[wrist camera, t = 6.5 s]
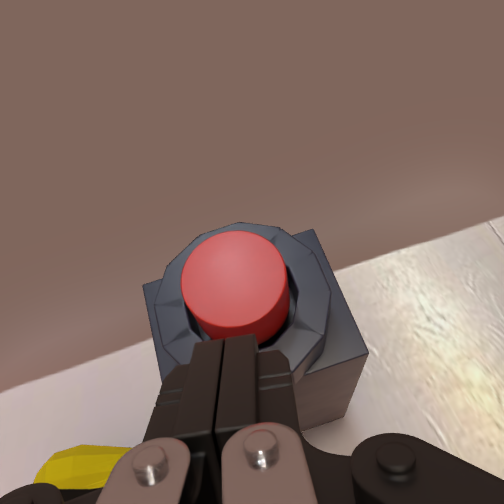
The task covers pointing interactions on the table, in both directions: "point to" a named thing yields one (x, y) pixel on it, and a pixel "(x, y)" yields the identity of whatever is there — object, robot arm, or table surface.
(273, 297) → the button
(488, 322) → the table surface
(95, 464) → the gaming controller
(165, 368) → the button pillar
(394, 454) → the robot arm
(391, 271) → the table surface
